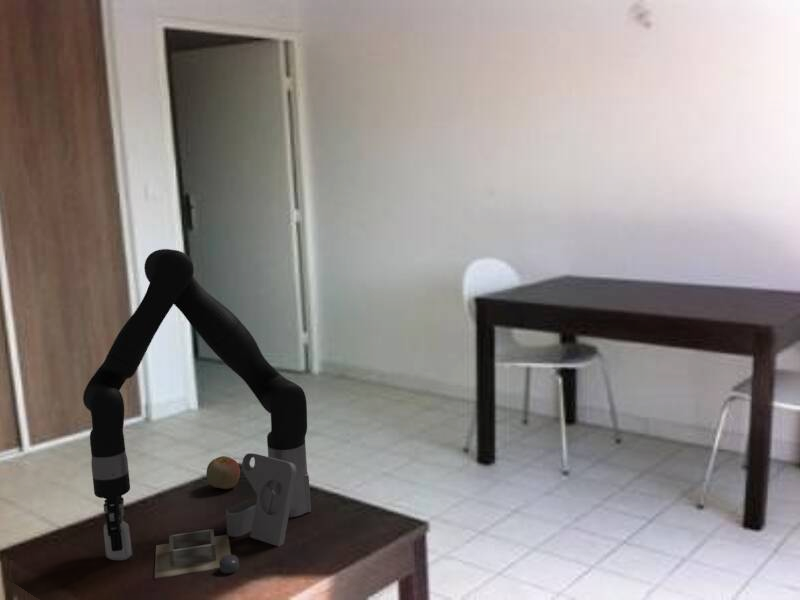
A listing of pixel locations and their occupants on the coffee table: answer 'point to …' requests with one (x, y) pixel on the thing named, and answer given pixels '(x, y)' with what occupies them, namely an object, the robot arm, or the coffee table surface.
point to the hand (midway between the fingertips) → (118, 545)
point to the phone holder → (264, 501)
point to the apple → (223, 472)
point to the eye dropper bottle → (126, 543)
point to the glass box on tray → (190, 553)
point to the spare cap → (229, 564)
